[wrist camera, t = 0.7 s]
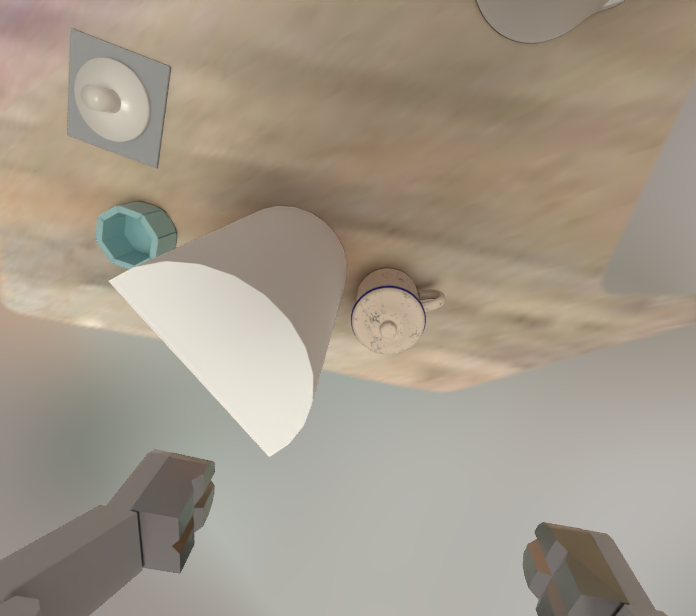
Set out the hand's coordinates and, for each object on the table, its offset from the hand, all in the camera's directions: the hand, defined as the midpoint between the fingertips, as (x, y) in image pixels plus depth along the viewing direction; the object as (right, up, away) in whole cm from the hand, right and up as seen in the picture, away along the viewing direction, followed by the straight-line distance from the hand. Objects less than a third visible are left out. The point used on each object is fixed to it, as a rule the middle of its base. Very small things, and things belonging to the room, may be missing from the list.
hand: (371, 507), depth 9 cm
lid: (-29, +31, +36) cm, 56 cm away
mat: (-29, +31, +37) cm, 56 cm away
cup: (-29, +16, +43) cm, 54 cm away
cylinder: (-9, +11, +43) cm, 46 cm away
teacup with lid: (+6, +7, +44) cm, 45 cm away
